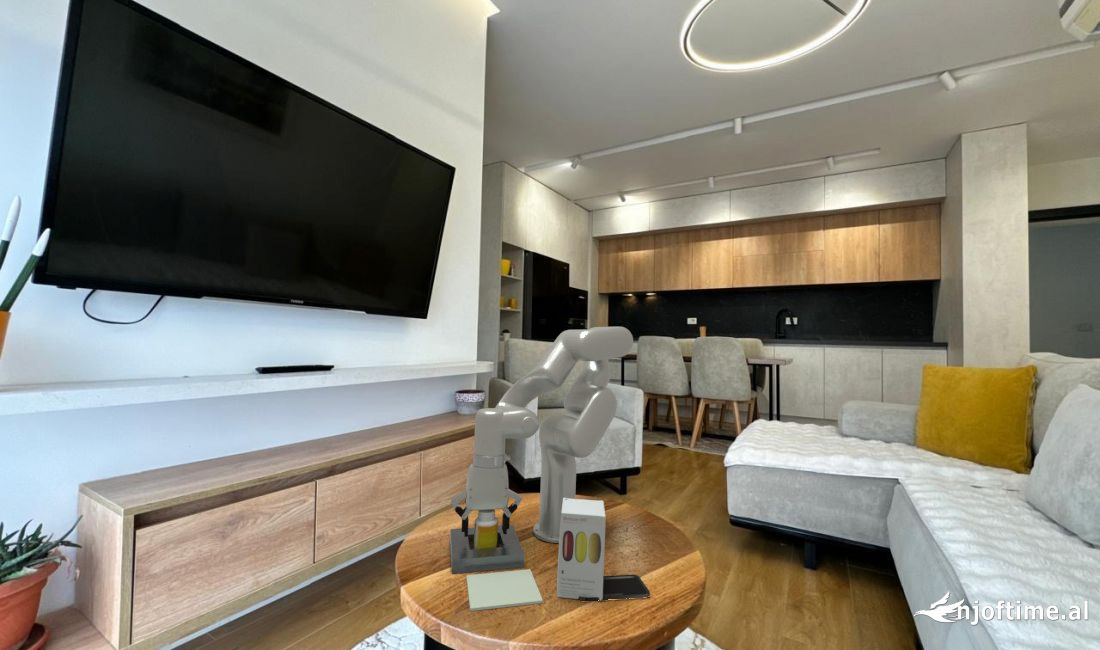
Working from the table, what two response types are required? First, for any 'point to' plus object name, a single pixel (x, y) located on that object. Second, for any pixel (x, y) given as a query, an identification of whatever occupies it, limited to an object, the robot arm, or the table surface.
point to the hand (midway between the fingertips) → (485, 533)
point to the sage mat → (502, 590)
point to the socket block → (485, 552)
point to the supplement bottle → (485, 530)
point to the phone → (621, 588)
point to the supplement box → (581, 549)
